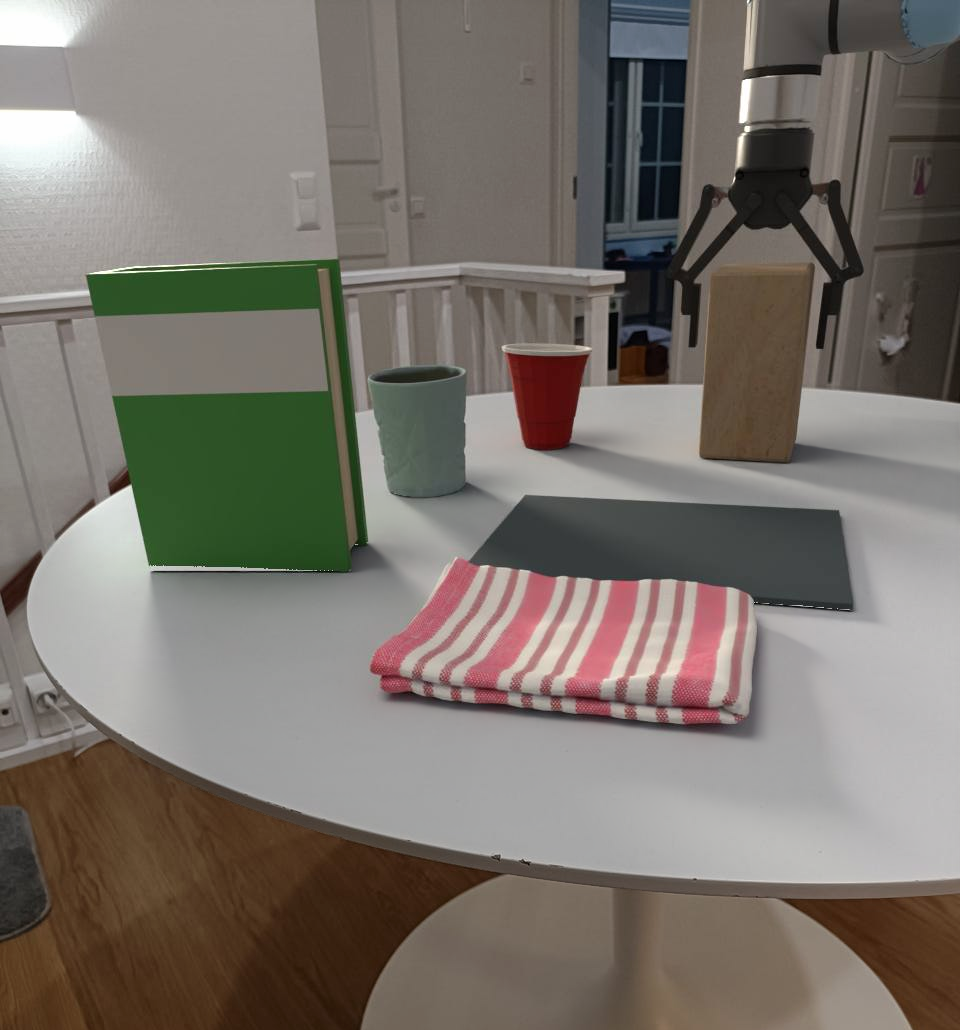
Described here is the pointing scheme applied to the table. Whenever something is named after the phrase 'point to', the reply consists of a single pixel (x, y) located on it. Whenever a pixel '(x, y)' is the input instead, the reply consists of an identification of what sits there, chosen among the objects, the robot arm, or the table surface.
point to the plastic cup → (546, 390)
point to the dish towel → (578, 646)
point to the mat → (679, 546)
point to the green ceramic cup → (421, 428)
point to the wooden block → (755, 360)
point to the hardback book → (235, 411)
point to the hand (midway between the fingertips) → (755, 346)
